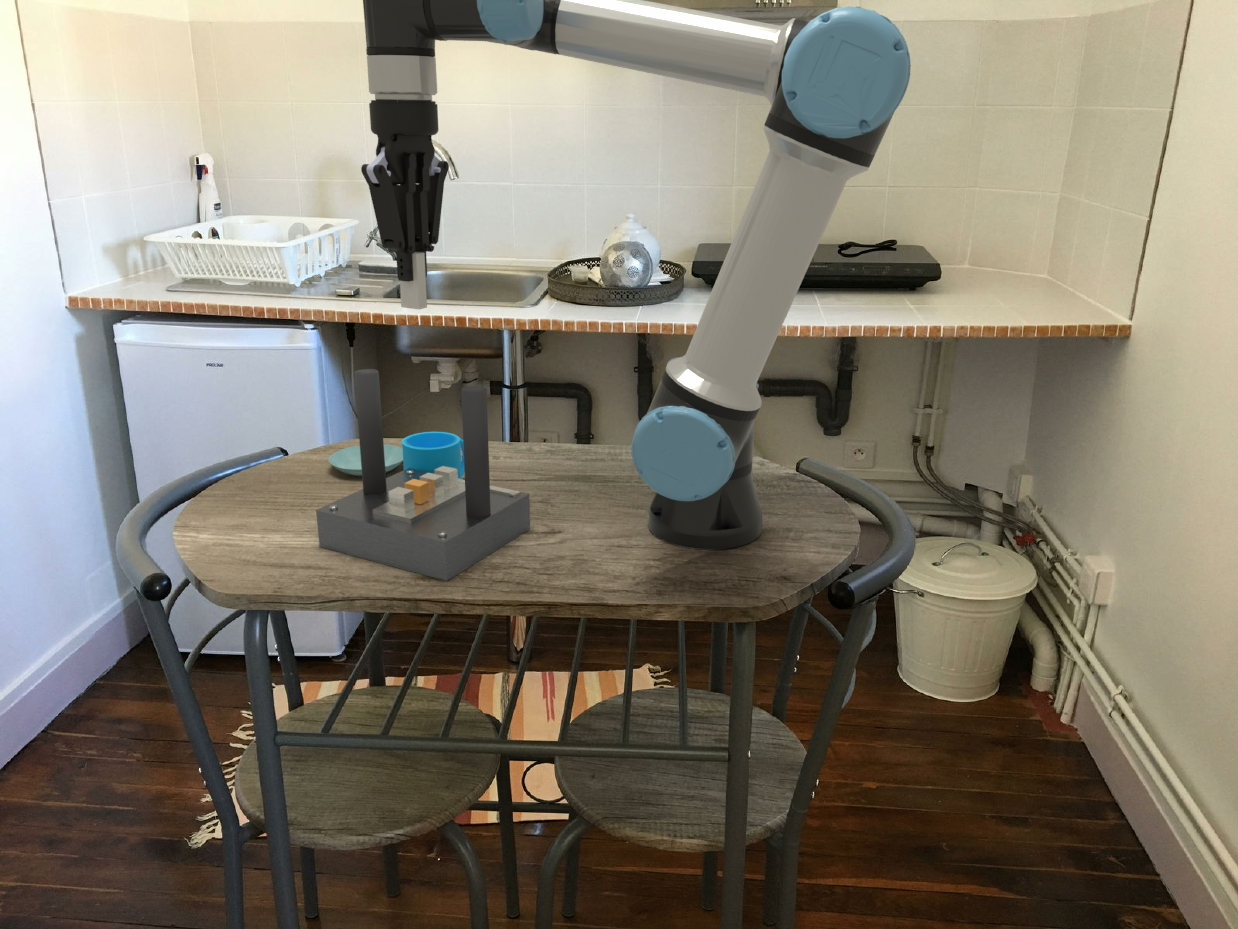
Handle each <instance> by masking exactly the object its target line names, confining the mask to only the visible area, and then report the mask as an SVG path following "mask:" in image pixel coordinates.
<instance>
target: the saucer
mask: <svg viewBox="0 0 1238 929" xmlns="http://www.w3.org/2000/svg"><path fill="white" fill-rule="evenodd" d="M384 458H385V472H386V473H388V472H390V471H393V470H394V469H396V468H397V467H398V466H400V465H401V464H402V462H403V449H402V446H401V447H400V446H397V445H392V444H386V443H385V444H384ZM327 461H328V463H329V464H330V465H331V466H332V467H334V468H335V469H336V470H339V471H340V472H342V473H343V474H347V475H350V476H354V477H362V467H361V454H360V444H359V445H353V446H349V447H346V448H343V449H340V450H338V451H334V452H333V453H332V454H331V455H330V456H329V457H328V460H327Z"/></svg>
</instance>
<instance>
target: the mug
mask: <svg viewBox="0 0 1238 929" xmlns="http://www.w3.org/2000/svg"><path fill="white" fill-rule="evenodd" d="M401 448H402V449H403V461H402V462H403V463H402V464H403V465H402V466H403V471H404V470H406V469H408V468H411V469H415V470H420V471H425V472H429V473H434V470H435V469H437V468H439V467H441V466H445V467H450V468H455V469H457V471H458V479H463V476H464V475H465V471H464V446H463V438H461V437H460V436H458V435H457V434H455V433H450V432H446V431H445V432H444V431H423V432H418V433H414V434H411V435H408V436H406V437H404V438H403V439H402V440H401Z"/></svg>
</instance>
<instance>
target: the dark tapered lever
mask: <svg viewBox="0 0 1238 929" xmlns="http://www.w3.org/2000/svg"><path fill="white" fill-rule="evenodd" d="M460 392H461V417H462V418H461V419H462V440H463V446H464V471H465V472H464V480H465V495H466V515H467V516H468V517H470V518H475V519H480V518H485V517H488V516H489V515H490V514H491V510H490V485H491V484H490V480H491V478H490V454H489V453H490V452H489V450H490V449H489V423H488V421H489V420H488V419H489V418H488V393H487V392H488V391H487V388H486V387H484V386H479V385H478V386H476V385H475V386H472V385H471V386H465V387H463V388H461V389H460Z"/></svg>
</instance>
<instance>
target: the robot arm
mask: <svg viewBox="0 0 1238 929" xmlns="http://www.w3.org/2000/svg"><path fill="white" fill-rule="evenodd" d="M362 4H363V6H362V8H363V19H364V32H365V44H366V48H365V51H366V63H367V77H368V78H367V79H368V80H367V81H368V92H369V94H371V95H374V99H371V100H370V102H369V104H368V105H369V106H368V107H369V119H370V120H369V122H370V130H371V132H372V134H374V135H376V137H377V146H376V148H375V156H376V157H375V158H374V159H373V160H372V162H370V164H369V163H363V164H362V165H361V167H360V170H361V174H362V175H363V178H364V179H365V182H366V183H367V185H368V190H369V194H370V198H371V202H372V206H373V212H374V216H375V219H376V225H377V228H378V233H379V237H380V238H379V239H380V242H381V246H382V247H383V249H387V250H388V252H390V253H395V258H396V270H397V273H396V274H397V279H398V281H399V287H400V288H399V290H400V291H399V292H400V307H401V308H406V309H413V310H422V309H426V308H428V300H427V297H428V296H427V279H426V278H427V276H428V269H427V268H428V262H427V252H430V253H432V252H433V251H434V250H435V245H437V244H438V243H439V238H440V237H439V236H440V226H441V219H442V218H441V217H442V208H443V207H442V206H443V199H444V198H443V197H444V190H445V188H444V185H445V180H446V177H447V175H448V172H449V169H450V165H449V162H448V161H446V160H440V159H439V158H438V157H437V156H436V155H435V152H436V151H435V147H434V144H433V139H432V136H436V135H437V134H438V132H439V113H438V103H437V102H436V101H434V100H433V96H436V95H437V94H438V79H437V77H438V76H437V62H436V61H437V60H436V41H440V42H441V41H444V42H447V41H463V42H467V41H468V42H469V41H470V42H471V41H472V42H489V43H493V44H501V45H505V46H506V45H507V46H513V47H516V48H520V49H525V50H529V51H538V52H542V53H546V54H552V55H559V56H564V57H570V58H572V59H573V58H574V59H579V60H583V61H589V62H593V63H597V64H603V65H608V66H612V67H618V68H623V69H628V70H633V71H638V72H641V73H643V72H644V73H647V74H652V75H657V76H662V77H667V78H671V79H672V78H673V79H676V80H682V81H687V82H691V83H696V84H702V85H706V86H712V87H716V88H721V89H726V90H730V91H736V92H740V93H745V94H751V95H755V96H759V97H765V98H766V99H767V101H768V103H769V104H770V105H771V107H770V110H769V112H768V114H767V116H766V119H765V122H764V124H763V127H762V129H763V131H764V134H765V137H766V139H767V141H768V146H769V147H768V148H769V151H768V154H767V156H766V158H765V161H764V163H763V166H762V168H761V171H760V173H759V175H758V177H757V180H756V182H755V185H754V186H753V190H752V193H751V195H750V197H749V199H748V202H747V205H746V207H745V210H744V211H743V214H742V216H741V219H740V222H739V225H738V226H737V229H736V232H735V234H734V237H733V239H732V241H731V243H730V245H729V248H728V251H727V253H726V255H725V258H724V261H723V263H722V265H721V267H720V271H719V273H718V275H717V278H716V279H715V283H714V285H713V287H712V289H711V292H710V295H709V297H708V300H707V302H706V304H705V307H704V308H703V312H702V314H701V316H700V319H699V321H698V323H697V326H696V328H695V331H694V333H693V336H692V338H691V341H690V344H689V346H688V347H687V351H686V353H685V354H684V355H683V356H680V357H674V358H671V359H669V361H668V362H667V364H666V367H665V369H664V371H663V373H662V376H661V378H660V380H659V381H660V382H659V384H658V386H657V387H656V388H657V389H656V391H655V394H654V396H653V398H652V400H651V403H650V406H649V407H648V410H647V412H646V414H645V415H643V417H641V420H640V421H638V423H637V424H636V427H635V428H634V431H633V436H632V440H631V448H630V449H631V458H632V462H633V465H634V468H635V469H636V471H637V473H638V476H639V477H640V478H641V479H642V481H643V482H644V483H645V484H646V486H648V487H649V488H650V489H651V490H653V491H654V494H653V497H652V500H651V501H650V502H651V503H650V505H649V508H648V509H649V510H648V529H649V531H650V532H651V534H653V536H655V537H656V538H658V539H660V540H662V541H664V542H666V543H669V544H672V545H674V546H679V547H682V548H688V549H689V548H690V549H697V550H726V549H732V548H733V549H734V548H737V547H741V546H745V545H748V544H750V543H753V542H754V541H755V540H757V539H758V538H759V537H760V535H761V534H762V531H763V530H762V528H763V511H762V509H761V505H760V504H761V503H760V502H759V501H760V500H759V497H758V493H757V490H756V486H755V483H754V478H753V474H752V473H753V457H754V443H755V442H754V439H755V437H754V436H755V421H756V418H757V415H758V414H759V411H760V409H761V407H762V403H763V401H762V398H761V395H760V392H759V390H758V389H759V387H760V386H759V385H760V384H759V383H758V380H759V378H760V376H761V374H762V371H763V370H764V367H765V365H766V362H767V360H768V358H769V356H770V354H771V351H772V350H773V347H774V344H775V342H776V340H777V339H778V335H779V333H780V331H781V329H782V327H783V325H784V322H785V320H786V319H787V316H788V314H789V311H790V309H791V307H792V305H793V302H794V300H795V298H796V296H797V294H798V291H799V289H800V286H801V285H802V282H803V280H804V278H805V275H806V273H807V272H808V269H809V267H810V265H811V262H812V259H813V258H814V255H815V253H816V251H817V249H818V246H819V244H820V241H821V240H822V237H823V235H824V233H825V230H826V228H827V226H828V225H829V221H830V219H831V218H832V215H833V213H834V211H835V208H836V207H837V204H838V201H839V199H840V197H841V195H842V193H843V190H844V188H845V186H846V184H847V182H848V181H849V180H850V179H851V178H854V177H856V176H858V175H860V174H862V173H865V172H867V171H869V169H870V166H871V165H872V162H873V160H874V158H875V156H876V154H877V151H878V149H879V148H880V145H881V142H882V140H883V138H884V136H885V134H886V132H887V129H888V128H889V125H890V123H891V121H892V118H893V116H894V115H895V112H896V110H897V109H898V107H899V106H900V104H901V103H902V101H903V99H904V97H905V94H906V92H907V88H908V86H909V82H910V80H911V79H910V78H911V66H912V65H911V54H910V52H909V47H908V44H907V41H906V40H905V37H904V35H903V34H902V32H901V31H900V29H899V28H898V26H896V24H895V23H893V22H892V20H890V19H889V18H888V17H887V16H885V15H882V14H880V13H878V12H877V11H876V10H871V9H866V8H863V7H860V6H844V7H842V6H841V7H840V6H839V7H836V8H833V9H830V10H828V11H825V12H823V13H820V14H819V15H817V16H816V17H815V18H812V19H811V20H806V19H800V18H791V19H790V20H788V21H787V22H786V23H785V24H783V25H778V24H772V23H766V22H763V21H762V22H761V21H756V20H753V19H752V20H750V19H745V18H742V17H741V18H740V17H737V16H736V17H735V16H729V15H725V14H719V13H714V12H708V11H703V10H698V9H692V8H687V7H682V6H681V7H680V6H677V5H670V4H665V3H661V2H654V1H650V0H362Z"/></svg>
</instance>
